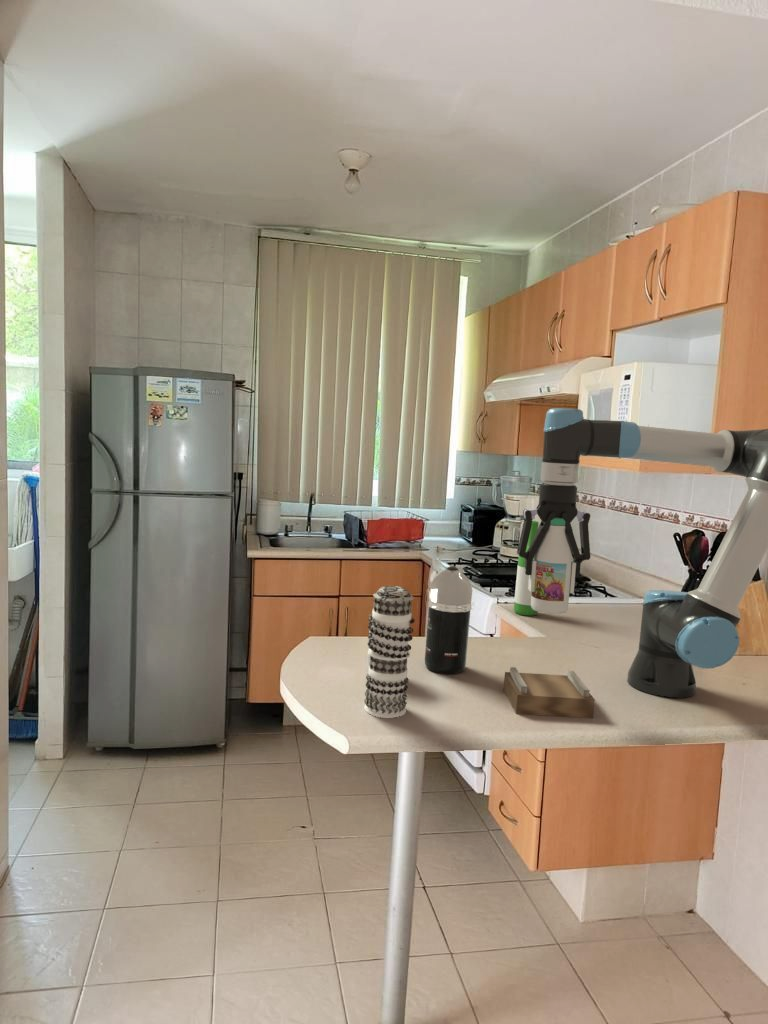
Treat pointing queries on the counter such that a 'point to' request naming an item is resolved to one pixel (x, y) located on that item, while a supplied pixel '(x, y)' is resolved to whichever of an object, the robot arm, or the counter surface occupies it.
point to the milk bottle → (552, 571)
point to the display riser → (548, 694)
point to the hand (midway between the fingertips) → (550, 591)
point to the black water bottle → (448, 622)
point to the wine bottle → (524, 582)
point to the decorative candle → (389, 652)
